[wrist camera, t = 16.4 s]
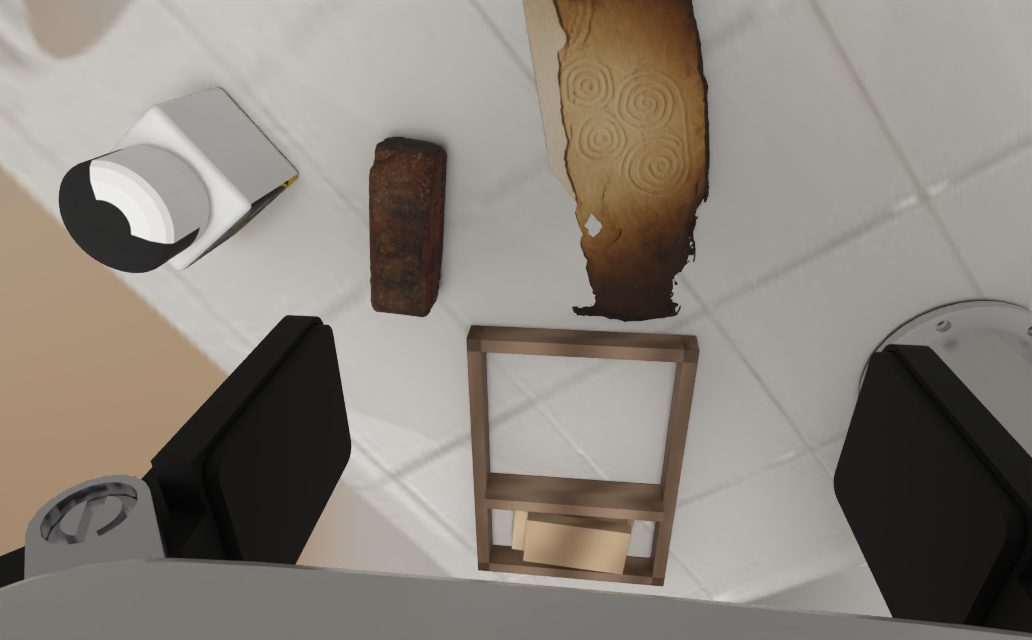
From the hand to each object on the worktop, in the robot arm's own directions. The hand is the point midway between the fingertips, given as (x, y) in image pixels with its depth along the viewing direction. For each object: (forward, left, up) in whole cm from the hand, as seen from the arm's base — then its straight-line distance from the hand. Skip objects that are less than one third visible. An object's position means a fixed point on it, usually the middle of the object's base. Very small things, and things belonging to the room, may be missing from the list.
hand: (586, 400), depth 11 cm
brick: (+11, +7, -31) cm, 34 cm away
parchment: (-2, +2, -31) cm, 31 cm away
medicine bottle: (+24, +4, -31) cm, 39 cm away
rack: (0, +27, -30) cm, 41 cm away
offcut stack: (0, +35, -31) cm, 46 cm away
